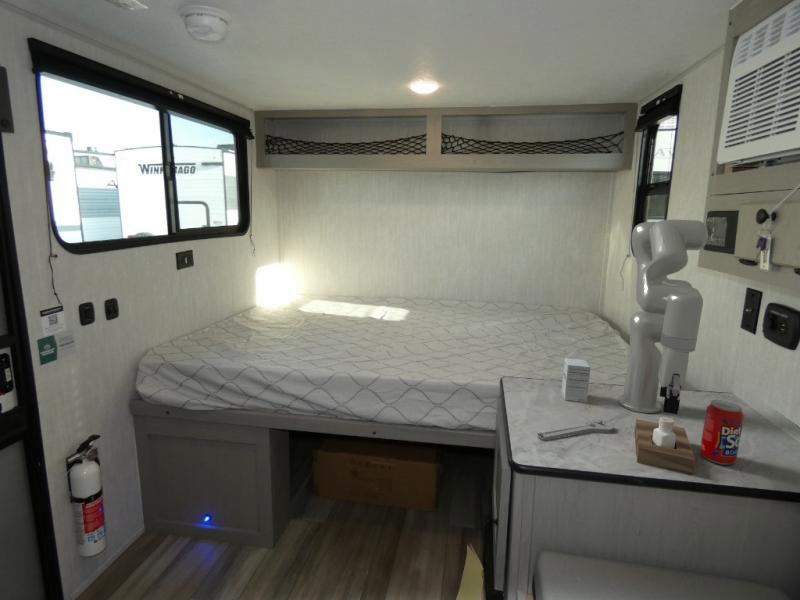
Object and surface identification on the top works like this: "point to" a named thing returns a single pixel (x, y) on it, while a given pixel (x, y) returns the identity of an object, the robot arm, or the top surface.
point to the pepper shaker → (664, 433)
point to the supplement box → (575, 379)
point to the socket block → (663, 449)
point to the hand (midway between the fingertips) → (668, 404)
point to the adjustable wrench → (577, 430)
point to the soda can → (722, 432)
